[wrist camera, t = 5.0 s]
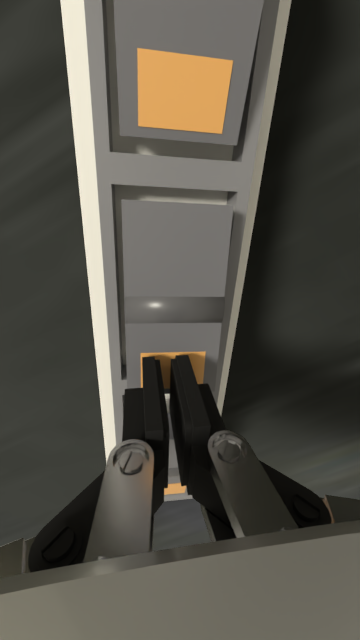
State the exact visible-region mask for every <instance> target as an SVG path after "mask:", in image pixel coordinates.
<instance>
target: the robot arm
mask: <svg viewBox="0 0 360 640" xmlns="http://www.w3.org/2000/svg"><path fill="white" fill-rule="evenodd" d="M142 372H143V388H130V389H125V393H124V413H123V434H122V442H121V443H119V444H118V445H116V446H115V447H114V448H113V449H112V451H111V452H110V454H109V457H108V460H107V464H106V468H105V471H104V472H103V473H102V474H101V475H100V476H99V477H97V478H96V479H95V480H94V481H93V482H92V483H91V484H90V485H89V486H88V487H87V488H86V489H84V490H83V491H82V492H81V493H80V494H79V495H78V496H77V497H76V498H75V499H74V500H73V501H72V502H70V503H69V504H68V505H67V506H66V507H65V508H64V509H63V510H62V511H61V512H60V513H59V514H58V515H56V516H55V517H54V518H53V519H52V520H51V521H50V522H49V523H48V524H47V525H46V526H45V527H44V528H43V529H42V530H41V531H40V532H39V533H38V535H37V536H36V537H33V538H31V539H28V540H26V541H25V540H24V538H21V539H18V540H16V541H13V542H11V543H9V544H6V545H4V546H1V547H0V640H360V500H357V499H350V498H343V497H336V496H329V495H325V497H324V498H320V497H319V496H318V495H316V494H315V493H313V492H312V491H311V490H309V489H307V488H306V487H304V486H302V485H301V484H299V483H297V482H295V481H294V480H292V479H290V478H289V477H287V476H285V475H283V474H282V473H280V472H278V471H277V470H275V469H273V468H271V467H270V466H268V465H266V464H265V463H263V462H261V461H260V460H258V458H257V457H256V455H255V453H254V452H253V450H252V448H251V446H250V445H249V443H248V442H247V441H246V439H245V438H244V437H242V436H241V435H240V434H237V433H235V432H232V431H227V430H226V429H225V426H224V424H223V421H222V418H221V416H220V413H219V410H218V408H217V405H216V402H215V400H214V397H213V394H212V392H211V389H210V386H209V384H208V383H205V384H197V381H196V377H195V374H194V371H193V368H192V365H191V362H190V359H189V356H188V355H176V356H175V359H171V369H170V401H169V409H170V418H171V424H172V431H173V437H174V443H175V450H176V456H177V463H178V469H179V476H180V482H181V486H186V487H187V493H188V495H192V498H194V499H195V500H196V501H198V502H199V503H200V504H201V511H202V514H203V517H204V520H205V523H206V526H207V530H208V533H209V536H210V539H211V542H209V543H203V544H197V545H191V546H184V547H178V548H172V549H166V550H159V551H153V552H152V550H153V531H154V514H155V512H156V511H157V510H158V508H159V507H160V506H161V505H162V503H163V502H164V488H168V467H169V437H170V432H169V420H168V413H167V406H166V399H165V393H164V386H163V379H162V372H161V365H160V360H155V356H153V357H142Z"/></svg>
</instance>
